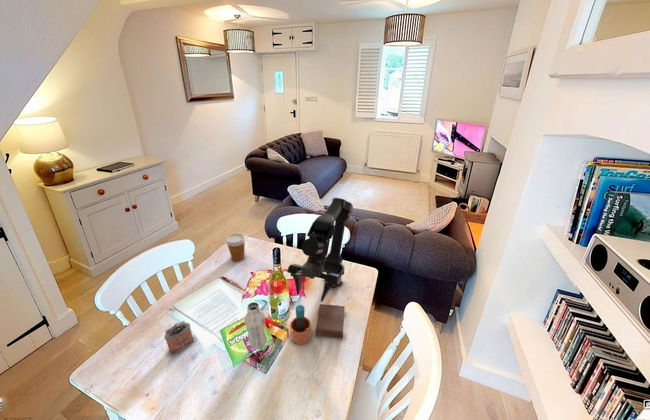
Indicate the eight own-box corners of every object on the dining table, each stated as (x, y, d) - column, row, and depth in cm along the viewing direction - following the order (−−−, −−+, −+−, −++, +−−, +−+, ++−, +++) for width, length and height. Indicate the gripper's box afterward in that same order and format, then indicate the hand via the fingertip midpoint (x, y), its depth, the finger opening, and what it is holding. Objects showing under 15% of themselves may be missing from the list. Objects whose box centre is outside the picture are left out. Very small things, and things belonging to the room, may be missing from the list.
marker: (302, 329, 101) (301, 303, 95) (306, 335, 99) (305, 309, 93) (295, 333, 99) (294, 307, 94) (299, 339, 97) (298, 312, 91)
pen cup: (304, 323, 104) (304, 313, 101) (314, 337, 98) (314, 326, 96) (287, 332, 100) (286, 322, 98) (296, 347, 94) (296, 336, 92)
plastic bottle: (264, 359, 90) (259, 315, 82) (245, 355, 91) (238, 312, 83) (271, 342, 96) (267, 300, 87) (253, 339, 97) (247, 297, 88)
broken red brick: (192, 335, 98) (186, 315, 94) (195, 341, 96) (190, 321, 92) (168, 349, 93) (160, 329, 89) (171, 356, 91) (164, 335, 86)
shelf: (319, 311, 110) (319, 303, 108) (344, 313, 109) (344, 306, 107) (315, 336, 99) (315, 328, 97) (342, 339, 98) (343, 331, 96)
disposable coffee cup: (225, 261, 138) (221, 242, 133) (234, 251, 147) (231, 232, 141) (242, 264, 137) (239, 244, 132) (250, 253, 145) (248, 234, 140)
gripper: (285, 249, 91) (275, 295, 90) (337, 262, 86) (328, 311, 85) (297, 248, 102) (289, 289, 101) (345, 259, 96) (336, 303, 95)
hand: (309, 298), depth 95 cm, fingers open, 9 cm apart
